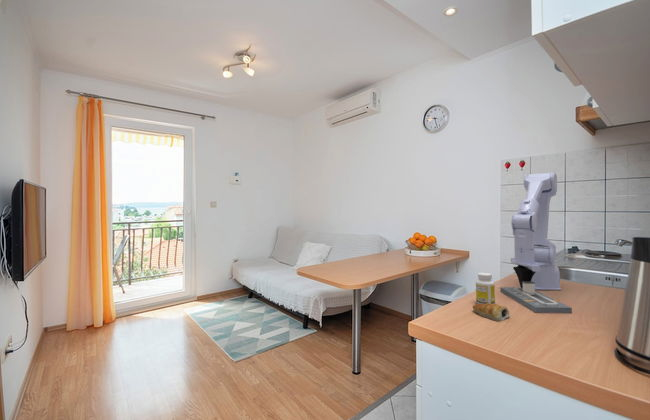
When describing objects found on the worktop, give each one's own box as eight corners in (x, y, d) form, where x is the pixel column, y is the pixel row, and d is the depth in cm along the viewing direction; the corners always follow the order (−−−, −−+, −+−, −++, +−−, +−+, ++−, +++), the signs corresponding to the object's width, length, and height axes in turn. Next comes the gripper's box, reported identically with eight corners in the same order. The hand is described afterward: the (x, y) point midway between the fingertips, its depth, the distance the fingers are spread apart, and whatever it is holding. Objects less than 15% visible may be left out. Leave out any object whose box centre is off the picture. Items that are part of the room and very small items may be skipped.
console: (529, 291, 110) (529, 285, 110) (571, 313, 88) (571, 305, 88) (500, 291, 111) (500, 285, 111) (535, 312, 90) (535, 304, 89)
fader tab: (530, 292, 103) (530, 280, 103) (536, 295, 100) (536, 283, 100) (521, 292, 103) (521, 280, 103) (526, 295, 100) (526, 283, 100)
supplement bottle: (490, 301, 101) (489, 272, 101) (498, 306, 96) (497, 275, 95) (473, 300, 102) (473, 272, 101) (480, 306, 96) (479, 275, 96)
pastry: (467, 313, 91) (467, 300, 91) (480, 308, 95) (480, 296, 95) (500, 323, 83) (499, 309, 83) (512, 317, 87) (511, 304, 87)
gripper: (502, 246, 111) (502, 282, 112) (523, 252, 97) (524, 294, 97) (522, 245, 111) (522, 282, 111) (546, 252, 96) (547, 294, 96)
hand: (524, 287), depth 104 cm, fingers closed
